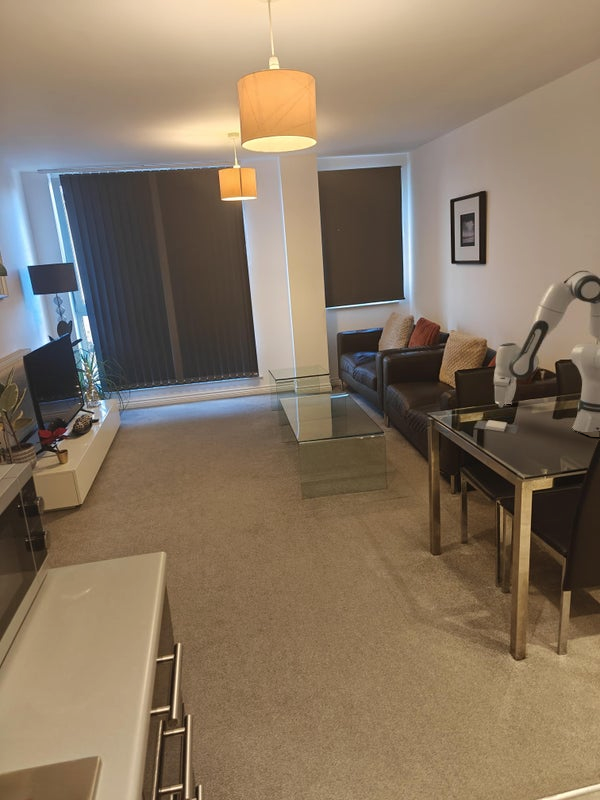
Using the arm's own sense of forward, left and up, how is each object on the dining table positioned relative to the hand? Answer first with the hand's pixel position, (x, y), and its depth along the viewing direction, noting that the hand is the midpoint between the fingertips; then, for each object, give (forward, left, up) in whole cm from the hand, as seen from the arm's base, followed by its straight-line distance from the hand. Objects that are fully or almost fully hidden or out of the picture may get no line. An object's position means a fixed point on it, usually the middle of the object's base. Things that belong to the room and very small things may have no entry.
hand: (501, 406), depth 249 cm
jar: (+2, -33, -8) cm, 34 cm away
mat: (0, +9, -8) cm, 12 cm away
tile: (0, +6, -6) cm, 9 cm away
